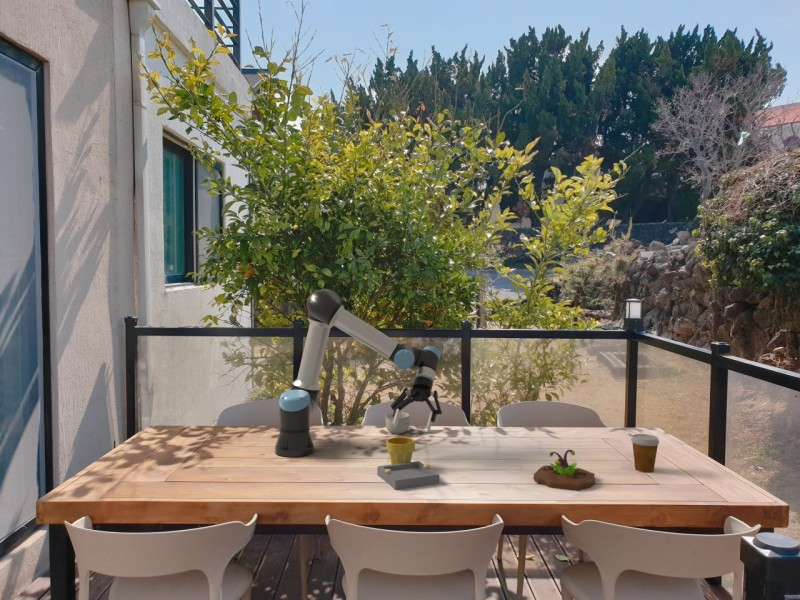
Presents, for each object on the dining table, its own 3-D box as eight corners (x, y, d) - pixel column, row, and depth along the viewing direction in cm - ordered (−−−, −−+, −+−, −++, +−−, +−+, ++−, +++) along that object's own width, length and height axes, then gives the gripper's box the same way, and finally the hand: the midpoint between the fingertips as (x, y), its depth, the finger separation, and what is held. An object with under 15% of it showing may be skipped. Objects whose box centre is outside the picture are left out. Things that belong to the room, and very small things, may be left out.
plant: (586, 495, 196) (587, 461, 195) (527, 484, 206) (528, 451, 206) (600, 478, 213) (601, 446, 213) (546, 468, 223) (546, 438, 223)
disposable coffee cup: (657, 467, 225) (658, 435, 224) (659, 475, 216) (660, 441, 215) (629, 464, 228) (630, 432, 227) (630, 472, 219) (631, 439, 218)
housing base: (394, 489, 198) (394, 477, 198) (376, 474, 213) (376, 463, 213) (439, 483, 205) (439, 471, 205) (419, 469, 220) (419, 458, 220)
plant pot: (381, 469, 219) (382, 442, 219) (392, 461, 229) (392, 435, 228) (409, 472, 216) (409, 445, 215) (418, 464, 225) (418, 438, 225)
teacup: (409, 435, 266) (409, 417, 265) (384, 435, 266) (384, 417, 266) (409, 427, 280) (409, 410, 279) (385, 427, 280) (385, 410, 280)
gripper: (456, 388, 241) (444, 435, 228) (397, 384, 250) (383, 429, 237) (452, 377, 236) (440, 424, 223) (392, 373, 245) (377, 418, 232)
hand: (411, 427), depth 230 cm, fingers open, 13 cm apart
